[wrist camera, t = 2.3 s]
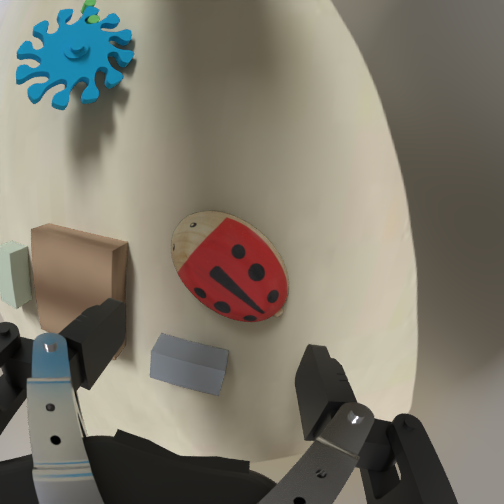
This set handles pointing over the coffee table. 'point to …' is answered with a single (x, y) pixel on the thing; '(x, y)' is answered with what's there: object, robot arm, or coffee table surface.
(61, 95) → the gear
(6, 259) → the sage brick
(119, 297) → the walnut block
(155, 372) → the slate brick
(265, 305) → the ladybug figurine
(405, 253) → the coffee table surface
